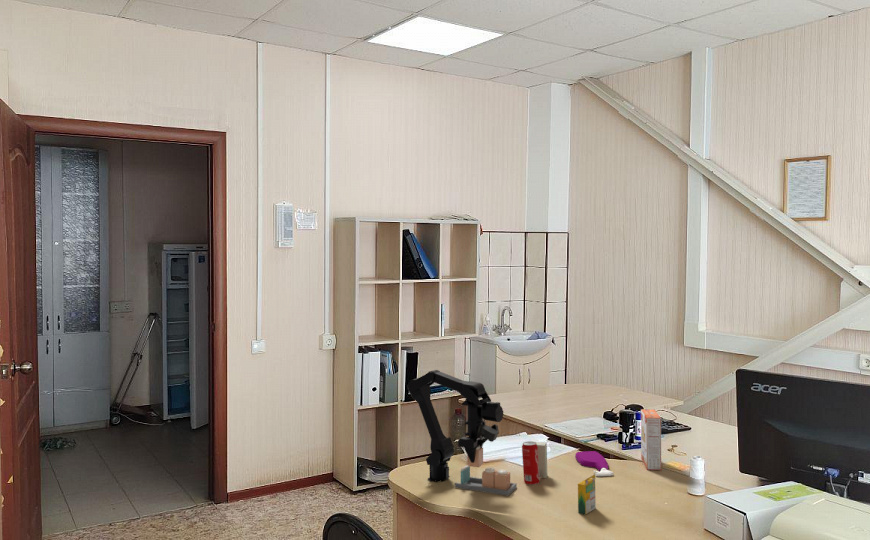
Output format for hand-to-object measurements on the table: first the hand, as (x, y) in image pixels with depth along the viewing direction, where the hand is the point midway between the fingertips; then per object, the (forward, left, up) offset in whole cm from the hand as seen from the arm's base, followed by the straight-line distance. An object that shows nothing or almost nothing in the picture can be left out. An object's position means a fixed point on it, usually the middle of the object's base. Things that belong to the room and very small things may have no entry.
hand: (475, 460), depth 253 cm
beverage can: (+17, +12, -10) cm, 23 cm away
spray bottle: (+35, +42, -11) cm, 55 cm away
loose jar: (0, 0, -2) cm, 2 cm away
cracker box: (+54, +52, -10) cm, 76 cm away
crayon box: (+42, -6, -10) cm, 44 cm away
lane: (+4, 0, -10) cm, 11 cm away
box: (+18, +20, -10) cm, 29 cm away
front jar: (+11, 0, -9) cm, 14 cm away
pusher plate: (-4, 0, -9) cm, 9 cm away
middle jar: (+6, 0, -9) cm, 11 cm away
